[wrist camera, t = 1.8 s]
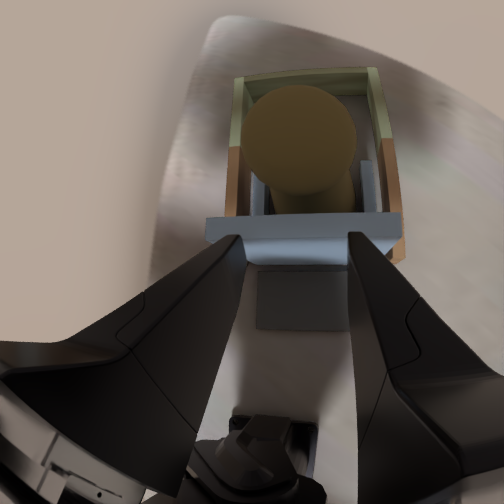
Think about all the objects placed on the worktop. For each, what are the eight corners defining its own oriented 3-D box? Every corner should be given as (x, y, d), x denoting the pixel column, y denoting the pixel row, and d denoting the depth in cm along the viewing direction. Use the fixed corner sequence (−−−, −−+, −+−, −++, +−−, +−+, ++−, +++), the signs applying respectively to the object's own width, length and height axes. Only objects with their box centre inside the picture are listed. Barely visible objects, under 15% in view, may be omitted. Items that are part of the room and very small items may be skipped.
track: (396, 263, 20) (405, 257, 17) (236, 265, 23) (222, 259, 20) (374, 90, 22) (376, 67, 19) (245, 98, 25) (234, 78, 22)
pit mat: (372, 330, 19) (372, 330, 19) (257, 328, 21) (256, 328, 21) (372, 271, 20) (373, 271, 20) (259, 271, 22) (258, 271, 22)
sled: (375, 264, 20) (402, 236, 11) (256, 264, 22) (204, 239, 14) (369, 169, 21) (382, 95, 12) (259, 173, 23) (216, 107, 15)
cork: (296, 258, 22) (256, 215, 11) (261, 187, 23) (202, 104, 13) (371, 220, 21) (398, 144, 10) (331, 152, 22) (319, 48, 12)
